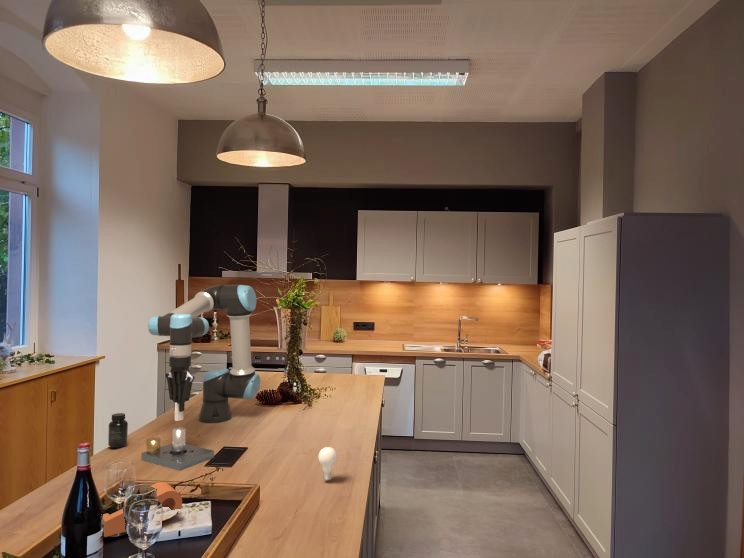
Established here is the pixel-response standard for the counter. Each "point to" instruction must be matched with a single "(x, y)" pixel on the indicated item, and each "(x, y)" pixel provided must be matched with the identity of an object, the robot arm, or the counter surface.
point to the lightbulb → (327, 461)
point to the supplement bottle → (118, 431)
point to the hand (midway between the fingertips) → (178, 419)
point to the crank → (164, 495)
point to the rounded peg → (178, 440)
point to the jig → (169, 460)
